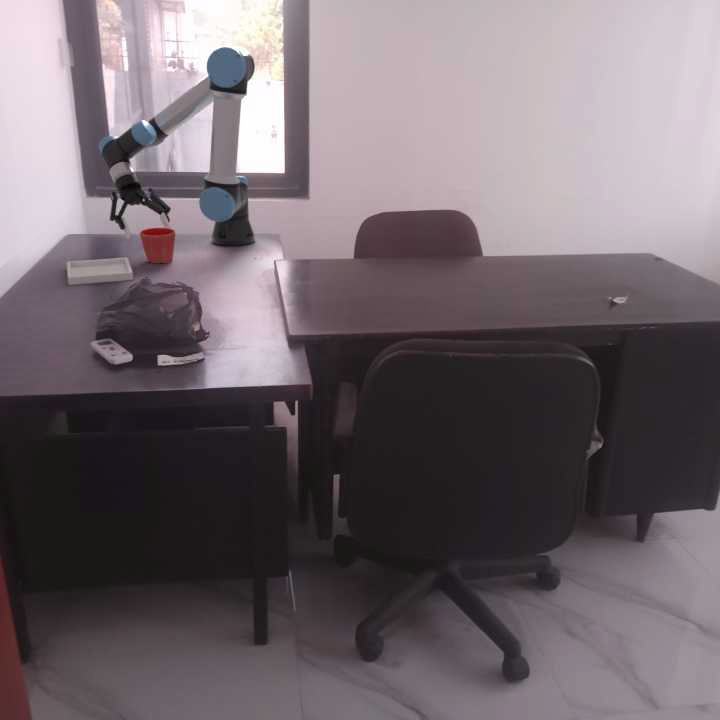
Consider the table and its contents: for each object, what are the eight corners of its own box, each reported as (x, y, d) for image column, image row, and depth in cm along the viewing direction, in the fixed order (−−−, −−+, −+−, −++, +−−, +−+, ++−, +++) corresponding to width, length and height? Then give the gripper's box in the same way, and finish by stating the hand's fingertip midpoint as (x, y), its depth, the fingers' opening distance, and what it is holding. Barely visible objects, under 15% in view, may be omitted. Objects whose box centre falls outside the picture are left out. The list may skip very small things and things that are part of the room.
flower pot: (172, 265, 235) (170, 235, 232) (138, 265, 235) (135, 234, 232) (181, 257, 245) (178, 228, 241) (147, 256, 245) (145, 227, 241)
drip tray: (128, 264, 236) (127, 257, 235) (133, 279, 221) (132, 272, 220) (67, 268, 230) (66, 261, 229) (68, 285, 215) (67, 277, 214)
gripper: (157, 183, 254) (181, 235, 249) (85, 190, 239) (109, 246, 234) (163, 169, 248) (188, 222, 243) (90, 176, 233) (115, 232, 228)
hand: (150, 234), depth 239 cm, fingers open, 13 cm apart
